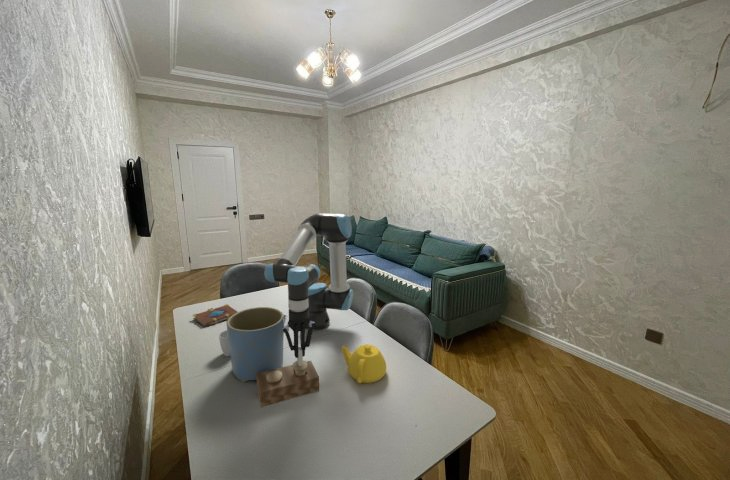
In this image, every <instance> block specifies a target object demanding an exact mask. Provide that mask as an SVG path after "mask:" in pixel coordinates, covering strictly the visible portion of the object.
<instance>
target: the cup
mask: <svg viewBox="0 0 730 480" xmlns="http://www.w3.org/2000/svg"><path fill="white" fill-rule="evenodd" d="M218 338H219V344H220V348H221V351H222V353H223V355H224V356H225V357H231V356H230V349H229V342H228V333H227V329H226V330H223V331H221V332H220V333H219V334H218Z"/></svg>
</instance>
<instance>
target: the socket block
mask: <svg viewBox="0 0 730 480" xmlns="http://www.w3.org/2000/svg"><path fill="white" fill-rule="evenodd" d="M306 362H307V364H308V367H307V369H306V370H305V375H301V376H297V377H296V376H295V371H294V370H293V364H291V365H287V366H282V367H281V368H277V369H273V370H269V371H265V372H261V373H257V374H256V376H257V380H256V388H257V394H258V398H259V405H260V408H264V407H267V406H271V405H274V404H277V403H280V402H283V401H284V402H285V401H288V400H290V399H295V398H297V397H298V398H299V397H302V396H305V395H308V394H312V393H315V392H319V391H320V376H319V374H318V372H317V370H316V367H315V365H314V364H313V362H312V360H306ZM271 371H280V372H282V379H281V380H280V381H279V382H276V383H270V384H269V382H268V381H267V378H266V376H267V374H268V373H269V372H271Z"/></svg>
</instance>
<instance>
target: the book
mask: <svg viewBox="0 0 730 480" xmlns="http://www.w3.org/2000/svg"><path fill="white" fill-rule="evenodd" d="M237 312H238V310H235V309H234V308H233V307H232V306H230V305H229V304H227V303H226V304H224V305H222V306H219V307H215V308H213V307H211V308H207V310H206V311H203V312H199V313H194V314H192V317H193V318H192V319H193V321H196V322H197V323H198V324H199V325H201V326H202V327H203V328H207V327H209V326H212V325H217V324H218V323H221V322H224V321H227V320H228V318H229V317H231V316H232V315H233V314H235V313H237Z"/></svg>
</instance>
